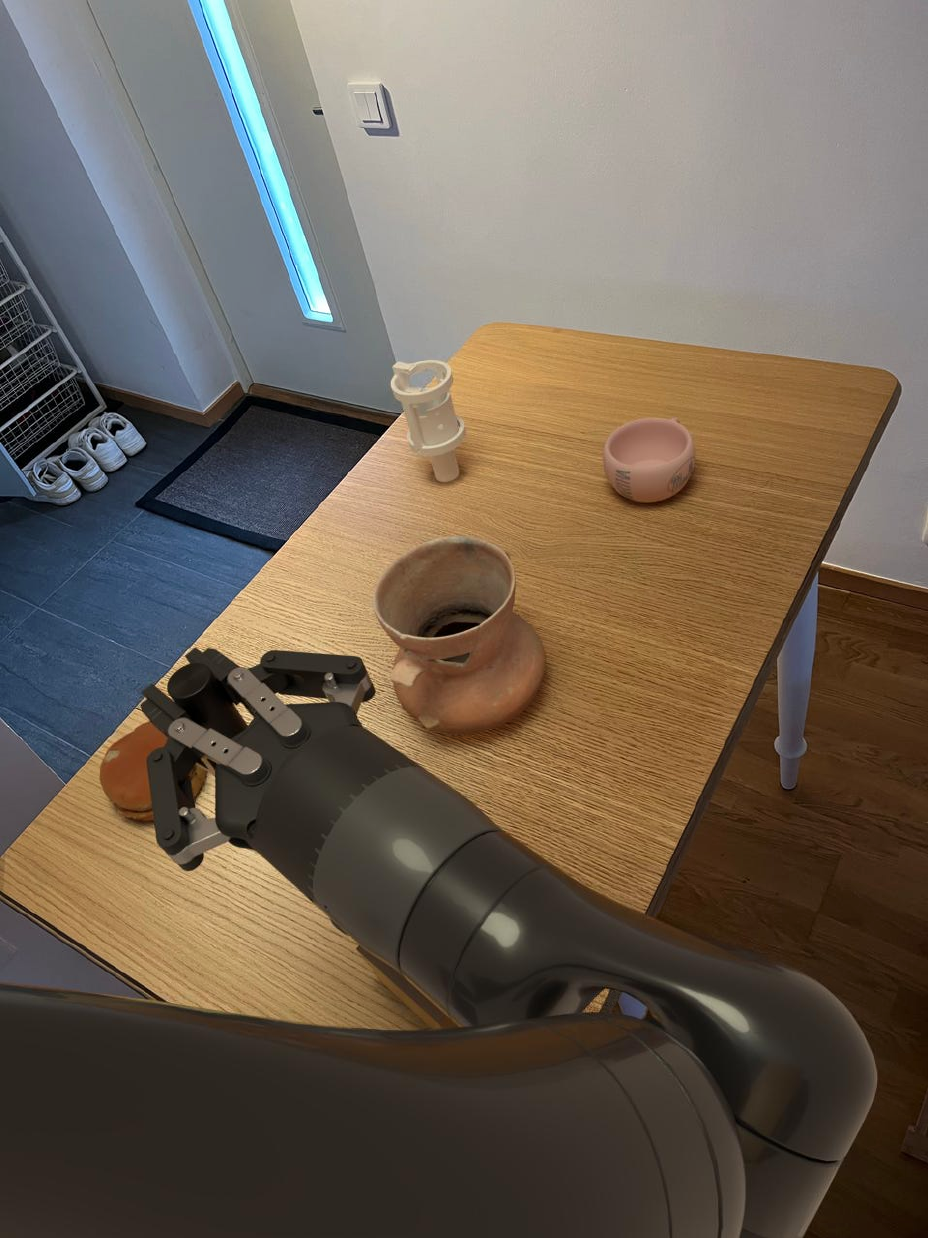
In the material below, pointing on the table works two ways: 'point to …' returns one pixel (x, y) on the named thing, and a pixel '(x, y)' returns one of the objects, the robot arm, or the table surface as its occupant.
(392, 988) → the knife block
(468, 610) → the ceramic jug
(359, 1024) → the table surface
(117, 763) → the burger
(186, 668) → the black tall cylinder
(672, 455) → the mug
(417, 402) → the strainer
